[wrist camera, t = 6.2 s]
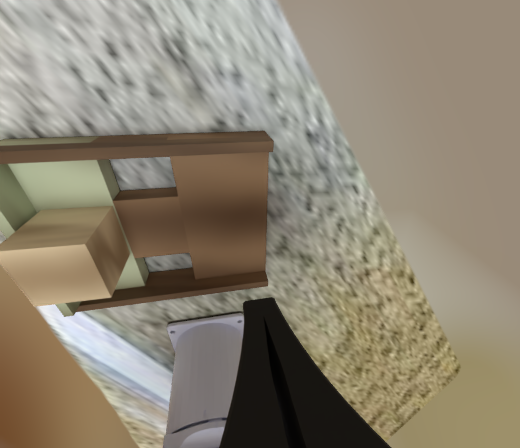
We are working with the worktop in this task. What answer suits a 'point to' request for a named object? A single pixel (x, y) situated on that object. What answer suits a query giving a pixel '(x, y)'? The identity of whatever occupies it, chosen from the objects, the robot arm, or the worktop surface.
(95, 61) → the worktop surface
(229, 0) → the worktop surface
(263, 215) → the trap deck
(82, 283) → the maple cube
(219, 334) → the robot arm
